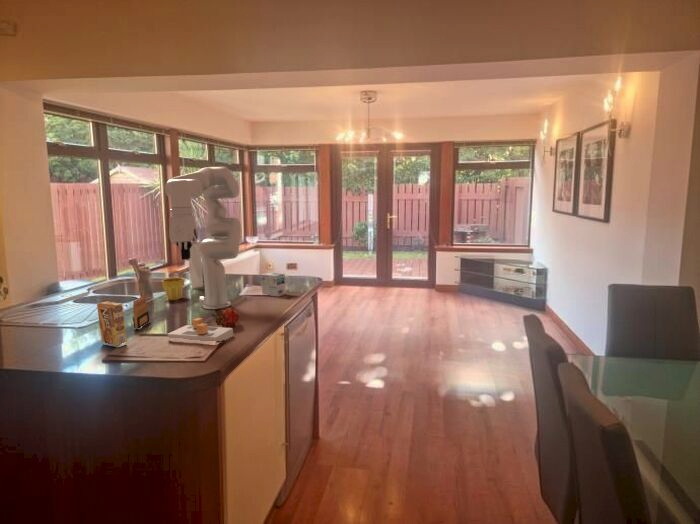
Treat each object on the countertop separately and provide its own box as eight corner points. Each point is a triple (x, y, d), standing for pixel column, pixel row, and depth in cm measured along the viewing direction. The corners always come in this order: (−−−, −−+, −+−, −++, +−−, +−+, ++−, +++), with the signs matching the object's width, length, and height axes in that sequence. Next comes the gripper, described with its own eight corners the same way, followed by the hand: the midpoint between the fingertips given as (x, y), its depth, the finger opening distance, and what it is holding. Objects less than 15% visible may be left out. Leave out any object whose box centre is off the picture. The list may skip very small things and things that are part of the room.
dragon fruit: (218, 336, 183) (233, 331, 194) (235, 323, 181) (248, 319, 193) (206, 317, 184) (221, 313, 195) (222, 305, 182) (237, 301, 194)
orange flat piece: (138, 330, 188) (135, 300, 186) (134, 330, 188) (130, 300, 186) (149, 322, 199) (147, 294, 197) (145, 322, 199) (142, 294, 197)
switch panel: (168, 341, 172) (167, 333, 172) (187, 332, 183) (186, 324, 182) (216, 345, 166) (215, 337, 166) (233, 336, 177) (232, 327, 176)
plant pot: (181, 300, 236) (179, 281, 235) (160, 301, 236) (158, 281, 235) (188, 295, 246) (186, 277, 245) (168, 296, 247) (166, 277, 245)
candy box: (127, 345, 170) (123, 303, 168) (117, 348, 167) (112, 306, 164) (111, 341, 175) (107, 300, 172) (101, 345, 171) (96, 303, 168)
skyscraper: (190, 289, 261) (186, 238, 256) (189, 287, 268) (184, 237, 264) (206, 288, 264) (202, 237, 260) (204, 285, 271) (200, 236, 267)
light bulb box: (286, 294, 243) (285, 273, 241) (277, 297, 238) (276, 275, 236) (270, 292, 249) (269, 271, 247) (261, 295, 243) (260, 274, 241)
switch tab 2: (197, 333, 169) (196, 325, 169) (202, 331, 172) (201, 323, 172) (203, 334, 169) (202, 326, 168) (208, 331, 171) (207, 323, 171)
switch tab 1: (192, 327, 177) (192, 320, 176) (197, 325, 180) (197, 317, 179) (198, 328, 176) (197, 320, 176) (203, 326, 179) (202, 318, 178)
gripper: (159, 213, 184) (163, 260, 186) (192, 212, 179) (196, 261, 182) (172, 211, 191) (176, 257, 194) (204, 211, 186) (208, 257, 189)
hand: (186, 259), depth 188 cm, fingers closed
